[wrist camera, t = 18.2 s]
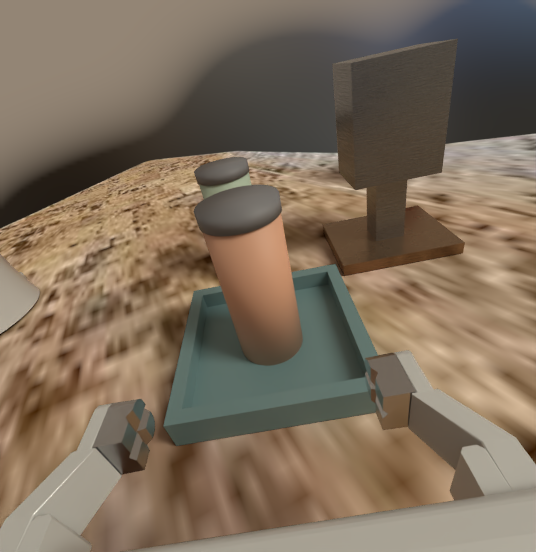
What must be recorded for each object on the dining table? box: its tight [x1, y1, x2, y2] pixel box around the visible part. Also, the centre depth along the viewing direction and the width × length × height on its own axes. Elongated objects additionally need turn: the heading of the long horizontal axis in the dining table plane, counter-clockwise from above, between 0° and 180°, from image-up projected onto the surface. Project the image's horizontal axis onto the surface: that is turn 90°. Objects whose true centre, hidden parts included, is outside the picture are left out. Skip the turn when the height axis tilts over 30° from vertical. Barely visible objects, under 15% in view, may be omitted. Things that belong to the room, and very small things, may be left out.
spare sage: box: [194, 157, 251, 199], centre depth 34 cm, size 5×5×12 cm
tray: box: [163, 264, 378, 446], centre depth 25 cm, size 14×14×2 cm
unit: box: [323, 39, 465, 276], centre depth 31 cm, size 12×10×18 cm
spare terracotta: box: [194, 185, 303, 366], centre depth 22 cm, size 5×5×12 cm
